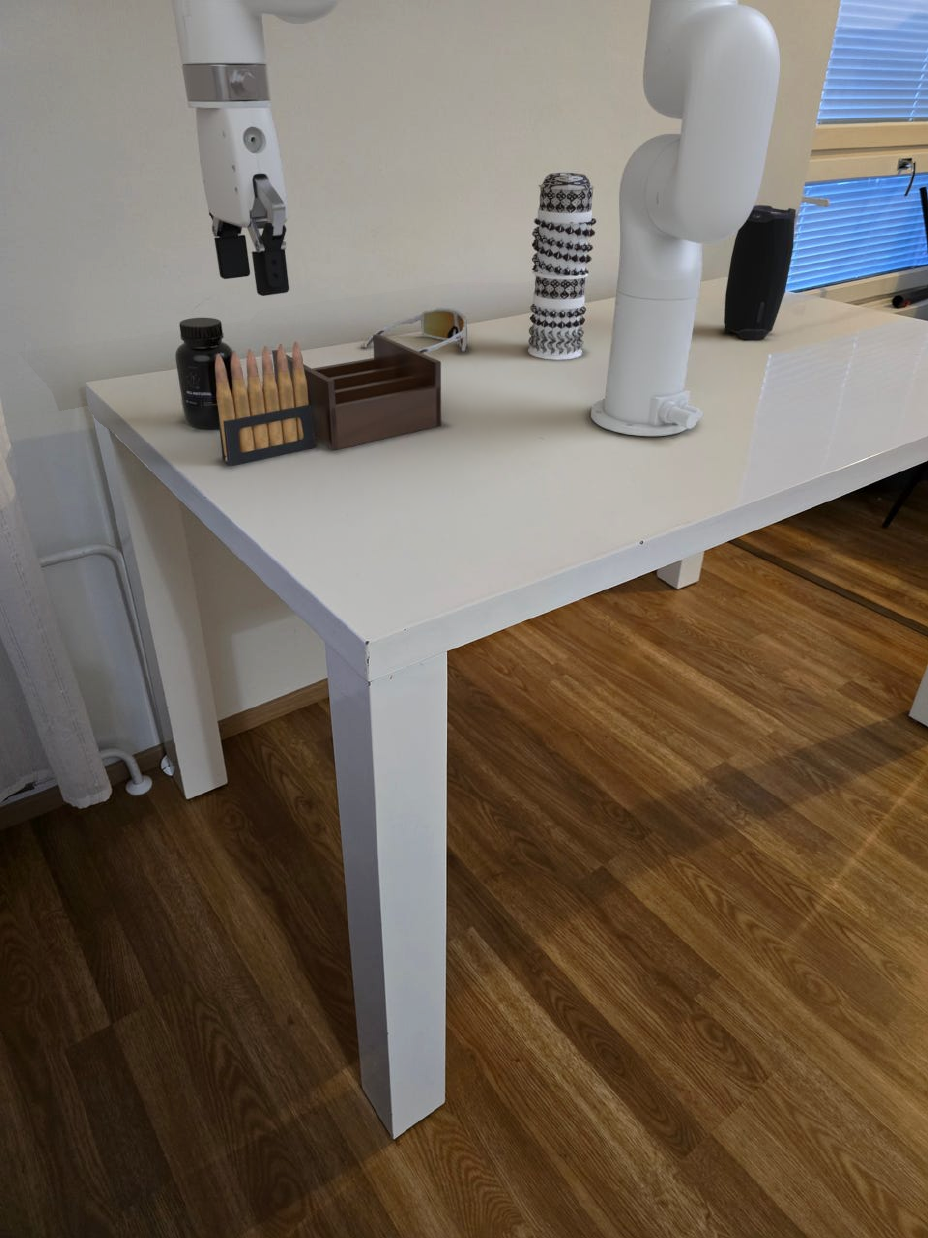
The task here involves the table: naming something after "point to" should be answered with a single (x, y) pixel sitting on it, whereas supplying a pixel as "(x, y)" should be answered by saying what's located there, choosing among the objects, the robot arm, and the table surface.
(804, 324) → the table surface
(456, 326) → the sunglasses
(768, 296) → the portable speaker
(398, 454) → the table surface
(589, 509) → the table surface
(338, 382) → the rack
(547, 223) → the decorative candle
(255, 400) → the ammunition clip
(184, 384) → the supplement bottle
